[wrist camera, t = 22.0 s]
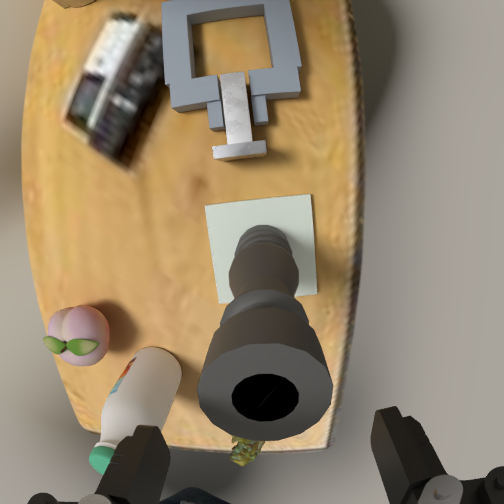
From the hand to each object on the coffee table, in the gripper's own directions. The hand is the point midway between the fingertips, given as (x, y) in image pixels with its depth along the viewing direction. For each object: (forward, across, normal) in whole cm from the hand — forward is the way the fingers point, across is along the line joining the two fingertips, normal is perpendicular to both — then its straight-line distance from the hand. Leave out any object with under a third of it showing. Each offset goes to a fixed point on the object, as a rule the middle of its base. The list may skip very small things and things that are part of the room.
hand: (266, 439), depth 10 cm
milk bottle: (+28, +17, +16) cm, 37 cm away
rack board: (+28, 0, 0) cm, 28 cm away
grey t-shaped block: (+28, +1, -16) cm, 32 cm away
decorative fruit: (+28, +25, +8) cm, 39 cm away
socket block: (+28, +1, -24) cm, 37 cm away
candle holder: (+27, 0, 0) cm, 27 cm away
